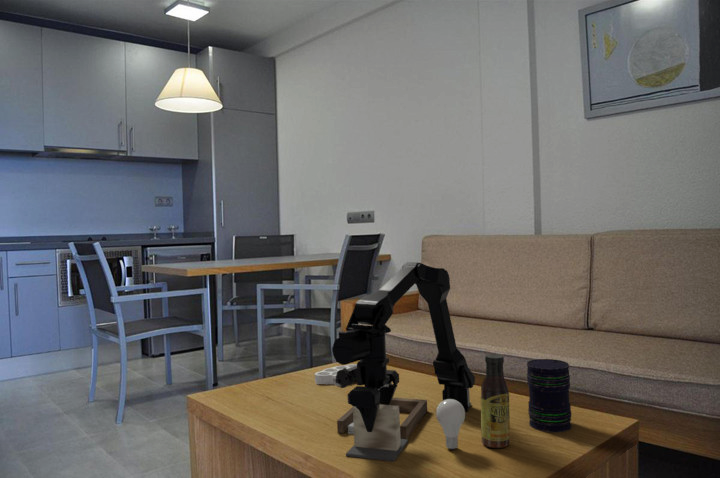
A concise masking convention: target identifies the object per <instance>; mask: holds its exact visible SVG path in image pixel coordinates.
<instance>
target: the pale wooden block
mask: <svg viewBox="0 0 720 478" xmlns="http://www.w3.org/2000/svg"><path fill="white" fill-rule="evenodd" d="M352 407H353V426H354V434H353V441H354V442H353V443H354V444H353V445H354V447H363V448H373V449H383V450H393V451H397V450H398V449H399V448H400V446H401V438H400V425H401V421H400V420H401V419H400V418H401V417H400V411H399V406H395V405H381V404H380V406H379V410H378V413H377V417H376V421H375V424H374V427H373V431H372V432H367V430H366V427H365V424H364V421H363V419H362V416H361V413H360V411H359V410H358V409H357V408H356V407H354V406H352Z"/></svg>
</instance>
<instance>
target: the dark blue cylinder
mask: <svg viewBox="0 0 720 478" xmlns="http://www.w3.org/2000/svg"><path fill="white" fill-rule="evenodd" d="M526 367H527V369H526V372H527V373H526V379H527V387H528V394H529V395H528V396H529V397H528V398H529V400H528V410H527V411H528V418H529V424H528V425H529V426H530V427H531V428H532V429H534V430H537V431H539V432H540V431H541V432H545V433H564V432H567V431H569V430H571V429H572V423H571V421H572V410H571V409H572V407H571V402H570V388H571V387H570V386H571V383H570V380H571V377H570V376H571V375H570V370H569V369H570V364H569V363H568V362H567V361H564V360H560V359H549V358H541V359H540V358H538V359H532V360H528V361H527V362H526Z"/></svg>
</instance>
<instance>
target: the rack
mask: <svg viewBox="0 0 720 478" xmlns="http://www.w3.org/2000/svg"><path fill="white" fill-rule="evenodd" d="M390 405H395V406H399V413H400V412H401V413H402V412H404V413H409V414H408V416H406V418H405V419H403V422H401V423H400V438H401V439H408V438H409V437H410V436H411V434H412V433H413V432H414V430H415V429H416V427H417V426H418V424H420V422H421V420H422V419H423V418H424V417H425V415H426V414H427V412H428V400H427V399H421V398H406V397H405V398H401V397H393V398H392V401H391V403H390ZM351 423H353V406H352V407H351V408H350V409H348V411H346V412H345V413H344V414H343V415H342V416H340V417H339V418H338V419H337V420H336V426H337V433H338V434H345V432H347V431H348V426H349V425H350V424H351Z"/></svg>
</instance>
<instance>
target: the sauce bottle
mask: <svg viewBox="0 0 720 478" xmlns="http://www.w3.org/2000/svg"><path fill="white" fill-rule="evenodd" d="M504 360H505V359H504V355H501V354H497V353H495V354H494V353H492V354H491V353H490V354H489V353H488V354H485V356H484V361H485V365H486V367H485V368H486V369H485V371H486V372H485V378H484V379H483V381H482V382H481V383H482V384H481V387H480V391H481V392H480V394H481V396H480V427H481V428H480V435H481V443H482V445H483V446H486V447H487V448H492V449H503V448H505V447H508V446H509V444H510V438H511V431H510V430H511V429H510V428H511V425H510V424H511V423H510V422H511V421H510V419H511V418H510V416H511V415H510V392H509V389H508V385H507V382H506V380H505V377H504V373H505V372H504V364H505V363H504V362H505V361H504Z"/></svg>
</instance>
